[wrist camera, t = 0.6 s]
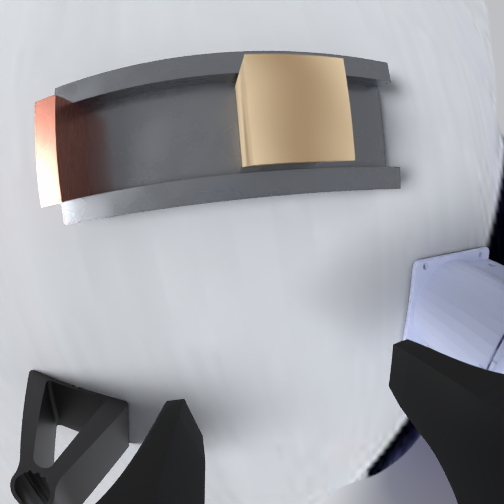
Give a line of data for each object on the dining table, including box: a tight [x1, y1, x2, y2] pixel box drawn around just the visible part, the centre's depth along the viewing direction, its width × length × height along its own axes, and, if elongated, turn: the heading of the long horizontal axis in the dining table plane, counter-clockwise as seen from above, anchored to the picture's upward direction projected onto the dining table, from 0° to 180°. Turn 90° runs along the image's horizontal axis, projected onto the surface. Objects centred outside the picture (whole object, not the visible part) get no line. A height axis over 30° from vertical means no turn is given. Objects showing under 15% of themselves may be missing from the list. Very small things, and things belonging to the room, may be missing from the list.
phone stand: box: [10, 370, 129, 504], centre depth 13 cm, size 9×6×12 cm, turn 74°
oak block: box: [235, 54, 355, 167], centre depth 12 cm, size 4×4×4 cm
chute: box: [35, 51, 400, 225], centre depth 13 cm, size 18×7×4 cm, turn 95°
